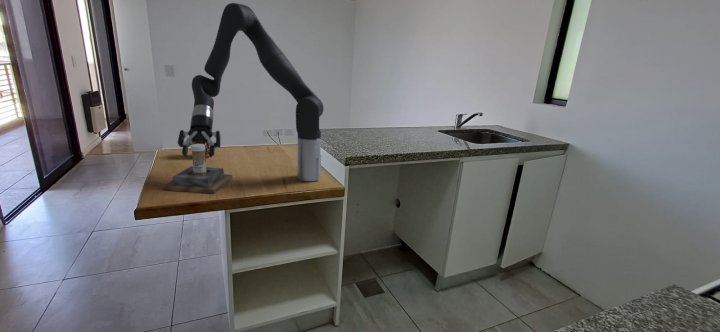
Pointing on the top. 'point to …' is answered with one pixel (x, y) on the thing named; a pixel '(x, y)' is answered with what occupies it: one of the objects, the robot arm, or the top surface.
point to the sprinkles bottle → (199, 159)
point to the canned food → (206, 149)
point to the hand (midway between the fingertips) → (198, 156)
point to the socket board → (200, 189)
